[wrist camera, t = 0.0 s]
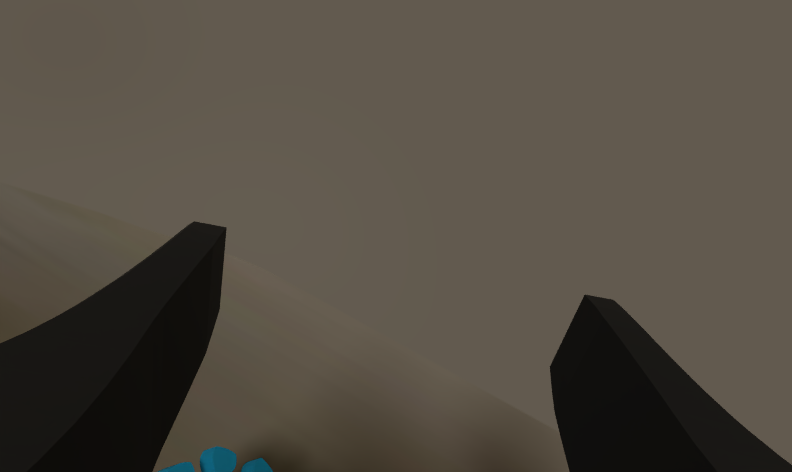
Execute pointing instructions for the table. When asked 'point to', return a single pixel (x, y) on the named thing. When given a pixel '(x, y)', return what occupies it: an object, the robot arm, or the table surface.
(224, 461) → the gear
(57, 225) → the table surface
